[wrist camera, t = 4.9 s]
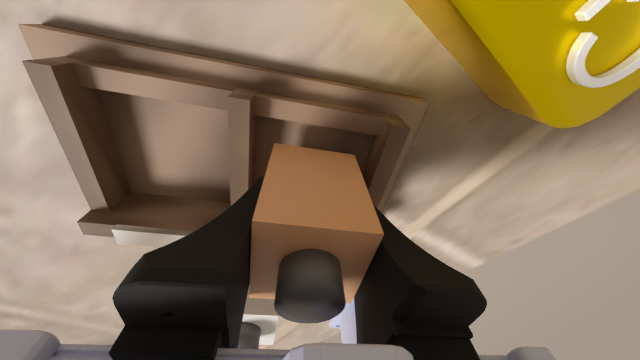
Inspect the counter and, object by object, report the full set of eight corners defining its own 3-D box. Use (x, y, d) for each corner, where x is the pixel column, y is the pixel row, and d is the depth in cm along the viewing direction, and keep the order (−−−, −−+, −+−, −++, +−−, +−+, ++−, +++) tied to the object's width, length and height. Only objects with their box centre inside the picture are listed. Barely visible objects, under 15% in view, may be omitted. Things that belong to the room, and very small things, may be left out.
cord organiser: (422, 98, 14) (463, 124, 10) (367, 228, 20) (381, 274, 16) (39, 24, 11) (-93, 22, 7) (109, 201, 17) (54, 249, 13)
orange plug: (354, 154, 13) (397, 269, 7) (336, 214, 15) (356, 338, 9) (274, 142, 12) (241, 257, 6) (268, 206, 15) (241, 334, 9)
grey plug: (285, 245, 21) (275, 339, 14) (280, 276, 23) (270, 366, 17) (233, 241, 20) (200, 336, 14) (234, 272, 22) (206, 365, 16)
